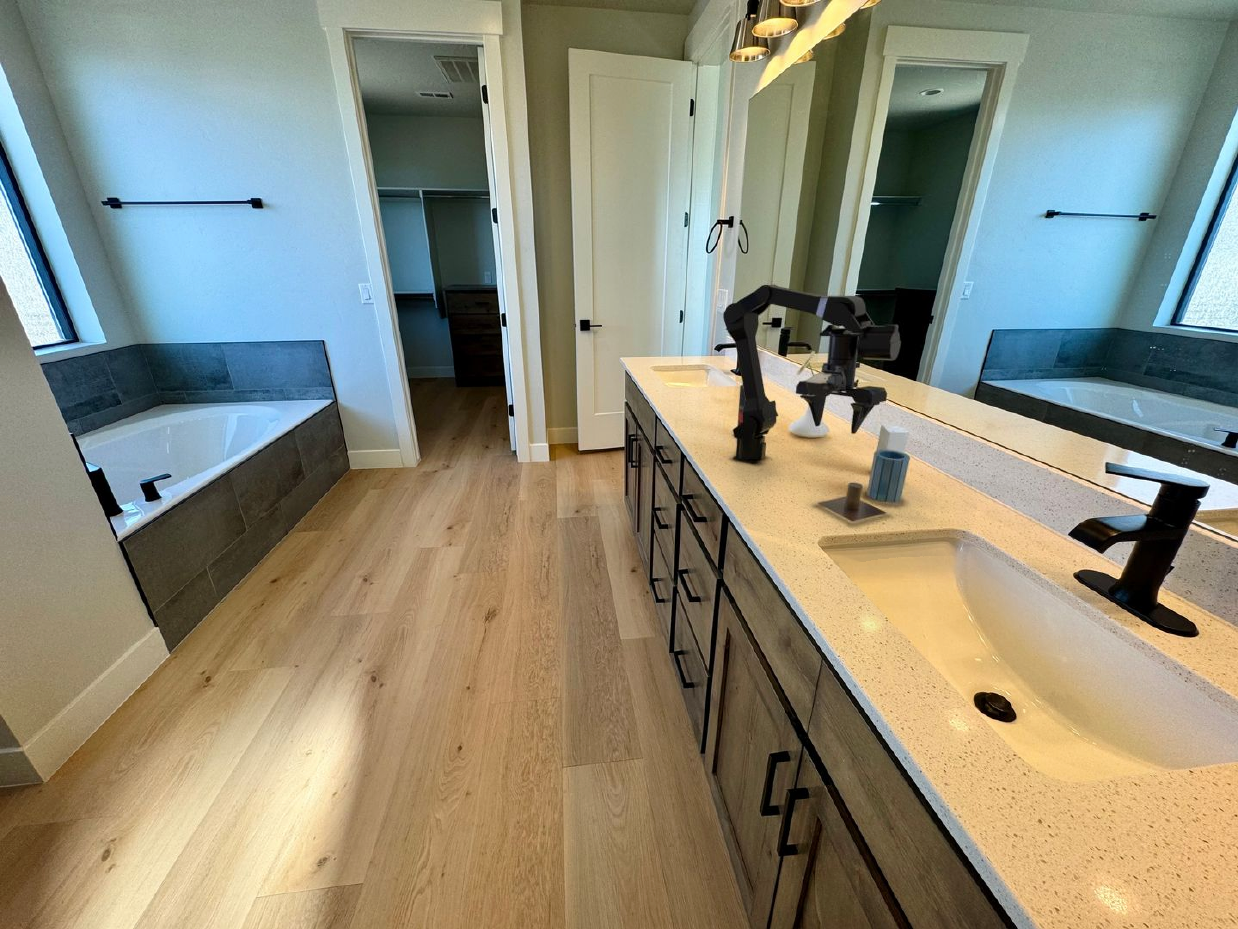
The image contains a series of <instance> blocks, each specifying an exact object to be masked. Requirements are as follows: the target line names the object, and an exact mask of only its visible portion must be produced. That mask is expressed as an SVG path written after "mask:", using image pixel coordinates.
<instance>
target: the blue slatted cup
mask: <svg viewBox="0 0 1238 929" xmlns="http://www.w3.org/2000/svg"><path fill="white" fill-rule="evenodd" d="M910 460H911V456H910V455H908V454H907V453H906V452H905V453H902V452H899V451H893V450H891V451H890V450H878V451H876V450H875V451H874V452H873V457H872V464H871V469H870V473H869V480H868V484H867V489H866V490H867V491H866V495H867V496H868V497H869V498H871V499H872V500H874V501H878V502H882V503H899V502H901V500H902V498H903V493H904V489H905V484H906V479H907V474H908V470H909V465H910Z"/></svg>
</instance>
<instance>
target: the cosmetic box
mask: <svg viewBox="0 0 1238 929" xmlns="http://www.w3.org/2000/svg"><path fill="white" fill-rule="evenodd" d="M909 436H910V432H909V431H907V430H906V429H905V428H903V427H902V426H901V425H892V424H891V425H890V424H881V426H880V429H879V434H878V441H877V446H876V450H875V451H878V450H890V451H891V450H893V451H899V452H902V453H905V454H906V450H907V446H908V441H909Z"/></svg>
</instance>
